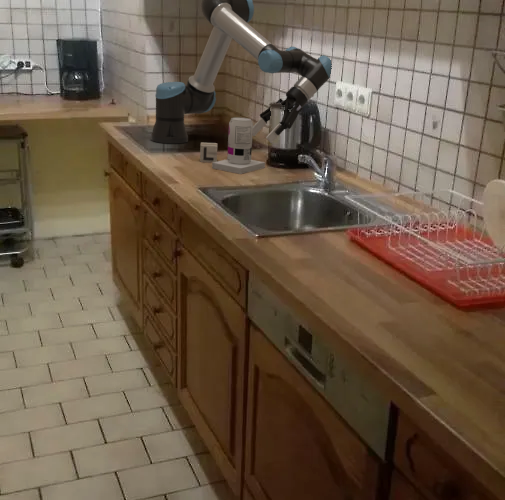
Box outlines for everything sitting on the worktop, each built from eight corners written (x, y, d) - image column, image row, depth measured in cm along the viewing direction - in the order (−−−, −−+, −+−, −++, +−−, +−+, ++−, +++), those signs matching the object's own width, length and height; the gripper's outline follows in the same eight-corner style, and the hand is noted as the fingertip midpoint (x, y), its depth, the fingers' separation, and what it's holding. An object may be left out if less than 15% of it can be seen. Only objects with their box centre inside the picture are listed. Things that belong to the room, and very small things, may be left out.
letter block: (200, 158, 248) (200, 142, 246) (216, 159, 249) (217, 143, 247) (199, 162, 242) (200, 145, 241) (216, 162, 243) (217, 146, 241)
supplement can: (223, 162, 234) (225, 118, 229) (234, 159, 241) (236, 116, 236) (243, 165, 231) (246, 121, 226) (254, 162, 238) (257, 119, 233)
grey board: (237, 162, 246) (237, 157, 245) (264, 167, 239) (265, 162, 239) (212, 168, 234) (212, 162, 233) (240, 174, 228) (240, 168, 227)
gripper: (324, 105, 229) (282, 151, 227) (289, 96, 250) (251, 138, 249) (312, 89, 225) (269, 135, 223) (278, 81, 246) (238, 123, 245)
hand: (259, 137), depth 236 cm, fingers open, 13 cm apart
